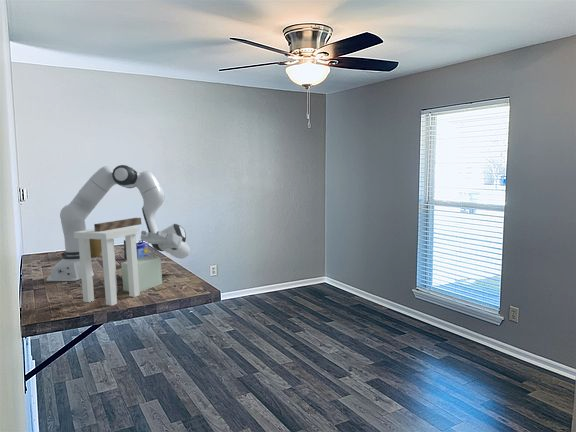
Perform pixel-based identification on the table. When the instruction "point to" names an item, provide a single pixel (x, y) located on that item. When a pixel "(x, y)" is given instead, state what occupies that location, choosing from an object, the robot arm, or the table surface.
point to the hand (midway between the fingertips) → (149, 232)
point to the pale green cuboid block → (144, 273)
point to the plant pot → (95, 247)
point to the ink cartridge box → (142, 249)
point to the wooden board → (117, 224)
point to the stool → (108, 262)
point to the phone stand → (125, 250)
